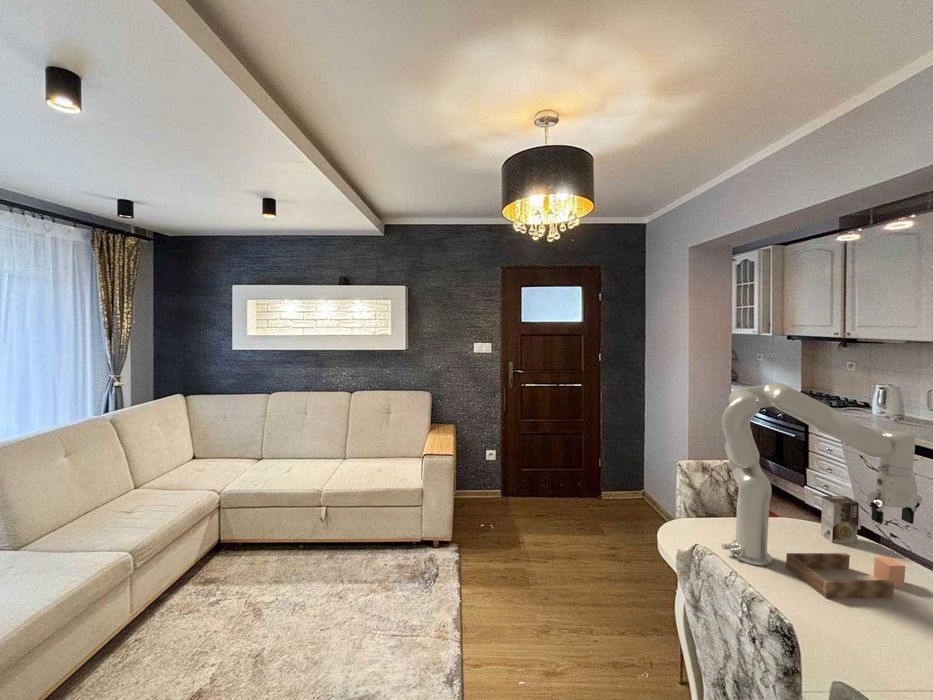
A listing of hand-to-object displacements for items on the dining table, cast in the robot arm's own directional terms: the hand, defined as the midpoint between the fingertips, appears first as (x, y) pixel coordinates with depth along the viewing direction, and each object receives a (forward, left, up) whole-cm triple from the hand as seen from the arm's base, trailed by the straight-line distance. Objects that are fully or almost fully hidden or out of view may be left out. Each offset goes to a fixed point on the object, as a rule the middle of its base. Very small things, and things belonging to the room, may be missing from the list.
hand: (892, 521), depth 137 cm
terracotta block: (0, 0, -20) cm, 20 cm away
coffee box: (+7, +27, -20) cm, 34 cm away
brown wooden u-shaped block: (-17, 0, -20) cm, 26 cm away
